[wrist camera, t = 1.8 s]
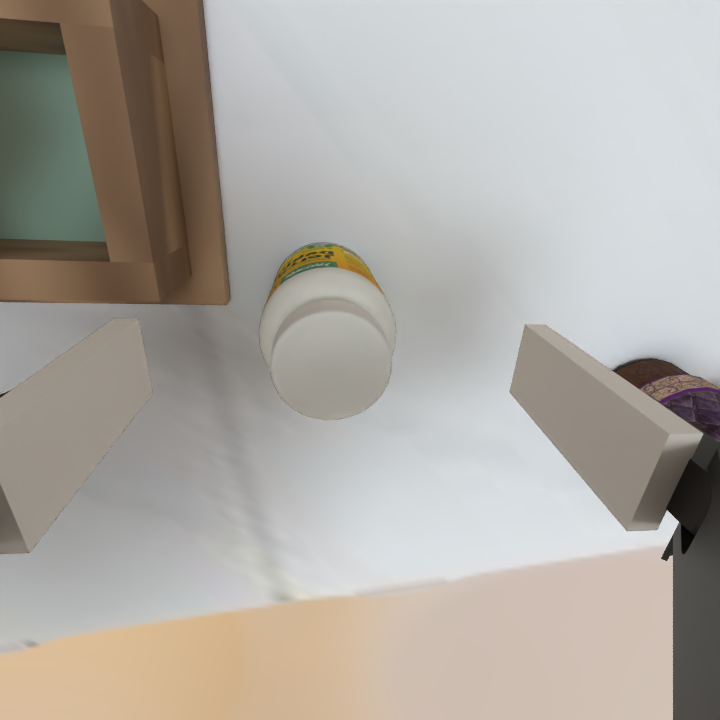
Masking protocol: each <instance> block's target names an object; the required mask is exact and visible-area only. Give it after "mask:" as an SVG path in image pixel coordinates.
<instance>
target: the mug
mask: <svg viewBox="0 0 720 720" xmlns="http://www.w3.org/2000/svg"><path fill="white" fill-rule="evenodd" d="M615 373H616V374H618V375H619V376H621V377H622V378H623V379H625V380H626V381H628V382H629V383H631V384H632V385H634V386H635V387H637V388H638V389H639V390H641V391H642V392H644V393H646V394H648V395H650V396H652V397H654V398H655V399H656V400H658V401H659V402H661V403H662V404H664V405H665V406H666V408H670V409H671V410H673V411H674V412H675V413H677V414H678V416H679V417H683V418H684V419H686V420H687V421H689V422H690V423H692V424H693V425H694V426H696V427H697V428H699V429H700V430H702V431H703V432H705V433H706V434H708V435H709V436H711V437H712V438H713V439H715V440H716V441H718V442H719V443H720V389H719V388H717V387H716V386H714V385H712V384H711V383H709V382H707V381H706V380H704V379H702V378H701V377H696V376H692V375H690V374H688V373H686V372H685V371H683V370H681V369H680V368H678V367H677V366H675V365H673V364H672V363H669V362H665V361H661V360H645V361H639V362H636V363H633V364H630V365H628V366H625V367H623V368H621V369H619V370H618V371H616V372H615Z"/></svg>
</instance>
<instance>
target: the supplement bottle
mask: <svg viewBox="0 0 720 720" xmlns="http://www.w3.org/2000/svg"><path fill="white" fill-rule="evenodd" d="M259 341H260V347H261V351H262V354H263V357H264V360H265V362H266V364H267V365H268V367H269V369H270V373H271V378H272V381H273V384H274V386H275V388H276V390H277V392H278V394H279V395H280V396H281V398H282V399H283V400H284V401H285V402H286V403H287V404H288V405H289V406H290V407H292V408H293V409H294V410H296V411H298V412H299V413H301V414H304V415H306V416H309V417H312V418H316V419H322V420H338V419H343V418H348V417H351V416H353V415H356V414H358V413H360V412H362V411H364V410H366V409H367V408H369V407H370V406H371V405H372V404H373V403H375V402H376V401H377V400H378V398H379V397H380V396H381V395H382V393H383V392H384V390H385V388H386V386H387V384H388V382H389V379H390V375H391V367H392V354H393V351H394V347H395V342H396V325H395V320H394V315H393V312H392V310H391V307H390V305H389V303H388V301H387V299H386V297H385V296H384V294H383V292H382V291H381V289H380V287H379V286H378V284H377V282H376V281H375V279H374V277H373V275H372V274H371V272H370V270H369V268H368V267H367V265H366V264H365V263H364V262H363V260H362V259H361V258H360V257H359V256H358V255H357V254H355V253H354V252H353V251H351V250H349V249H347V248H345V247H343V246H340V245H336V244H331V243H314V244H310V245H306V246H304V247H302V248H300V249H298V250H297V251H295V252H294V253H293V254H291V255H290V256H289V257H288V258H287V259H286V260H285V262H284V263H283V264H282V266H281V267H280V269H279V271H278V273H277V276H276V278H275V280H274V284H273V286H272V289H271V291H270V294H269V297H268V299H267V302H266V304H265V307H264V310H263V313H262V317H261V320H260V327H259Z"/></svg>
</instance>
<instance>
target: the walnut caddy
mask: <svg viewBox="0 0 720 720" xmlns="http://www.w3.org/2000/svg"><path fill="white" fill-rule="evenodd" d="M229 301H230V290H229V279H228V268H227V258H226V247H225V236H224V225H223V215H222V204H221V193H220V182H219V172H218V161H217V150H216V140H215V129H214V118H213V107H212V97H211V86H210V75H209V64H208V54H207V43H206V32H205V21H204V11H203V0H0V302H40V303H114V304H188V305H227V304H228V302H229Z"/></svg>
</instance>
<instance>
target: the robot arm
mask: <svg viewBox="0 0 720 720" xmlns="http://www.w3.org/2000/svg"><path fill="white" fill-rule="evenodd" d="M152 393H153V390H152V385H151V380H150V375H149V370H148V365H147V360H146V355H145V350H144V344H143V339H142V334H141V329H140V324H139V319H112V320H111V321H109V322H108V323H107V324H105V325H104V326H102V327H101V328H99V329H98V330H97V331H95V332H94V333H92V334H91V335H89V336H88V337H87V338H85V339H84V340H82V341H81V342H79V343H78V344H77V345H75V346H74V347H72V348H71V349H69V350H68V351H67V352H65V353H64V354H62V355H61V356H59V357H58V358H57V359H55V360H54V361H52V362H51V363H49V364H48V365H47V366H45V367H44V368H42V369H41V370H39V371H38V372H37V373H35V374H34V375H32V376H31V377H29V378H28V379H27V380H25V381H24V382H22V383H21V384H19V385H18V386H17V387H15V388H14V389H12V390H10V391H8V392H6V393H3V394H1V395H0V554H12V553H30V552H31V550H32V549H33V548H34V547H35V545H36V544H37V543H38V541H39V540H40V539H41V537H42V536H43V535H44V534H45V532H46V531H47V530H48V528H49V527H50V526H51V524H52V523H53V522H54V521H55V519H56V518H57V517H58V515H59V514H60V513H61V512H62V510H63V509H64V508H65V506H66V505H67V504H68V502H69V501H70V500H71V499H72V497H73V496H74V495H75V493H76V492H77V491H78V489H79V488H80V487H81V486H82V484H83V483H84V482H85V480H86V479H87V478H88V476H89V475H90V474H91V473H92V471H93V470H94V469H95V467H96V466H97V465H98V464H99V462H100V461H101V460H102V458H103V457H104V456H105V454H106V453H107V452H108V451H109V449H110V448H111V447H112V445H113V444H114V443H115V441H116V440H117V439H118V438H119V436H120V435H121V434H122V432H123V431H124V430H125V428H126V427H127V426H128V425H129V423H130V422H131V421H132V419H133V418H134V417H135V416H136V414H137V413H138V412H139V410H140V409H141V408H142V406H143V405H144V404H145V403H146V401H147V400H148V399H149V397H150V396H151V395H152ZM510 393H511V395H512V396H513V397H514V398H515V399H516V401H517V402H518V403H519V404H520V405H521V406H522V408H523V409H524V410H525V411H526V412H527V414H528V415H529V416H530V417H531V418H532V419H533V421H534V422H535V423H536V424H537V425H538V427H539V428H540V429H541V430H542V431H543V433H544V434H545V435H546V436H547V437H548V438H549V440H550V441H551V442H552V443H553V444H554V446H555V447H556V448H557V449H558V450H559V451H560V453H561V454H562V455H563V456H564V457H565V459H566V460H567V461H568V462H569V463H570V465H571V466H572V467H573V468H574V469H575V470H576V472H577V473H578V474H579V475H580V476H581V478H582V479H583V480H584V481H585V482H586V483H587V485H588V486H589V487H590V488H591V489H592V491H593V492H594V493H595V494H596V495H597V496H598V498H599V499H600V500H601V501H602V502H603V504H604V505H605V506H606V507H607V508H608V510H609V511H610V512H611V513H612V514H613V515H614V517H615V518H616V519H617V520H618V521H619V523H620V524H621V525H622V526H623V527H624V528H625V530H626V531H649V530H657V529H658V527H659V525H660V523H661V521H662V519H663V517H664V515H665V513H666V511H667V510H668V511H669V512H670V513H671V514H672V515H673V516H674V517H675V518H676V519H677V520H678V521H679V524H678V526H677V528H676V530H675V532H674V534H673V536H672V538H671V540H670V542H669V544H668V545H667V547H666V549H665V551H664V554H663V556H662V558H661V559H663V560H665V561H667V560H668V558H669V556H671V555H673V720H720V443H719V442H718V441H716V440H715V439H713V438H712V437H711V436H709V435H708V434H706V433H705V432H703V431H702V430H700V429H699V428H697V427H696V426H694V425H693V424H692V423H690V422H689V421H687V420H686V419H684V418H683V417H679V416H678V414H677V413H675V412H674V411H673V410H671V409H670V408H666V406H665V405H664V404H662V403H661V402H659V401H658V400H656V399H655V398H654V397H652V396H650V395H648V394H646V393H644V392H642V391H641V390H639V389H638V388H637V387H635V386H634V385H632V384H631V383H629V382H628V381H626V380H625V379H623V378H622V377H621V376H619V375H618V374H616V373H615V372H613V371H612V370H610V369H609V368H608V367H606V366H605V365H603V364H602V363H600V362H599V361H597V360H596V359H594V358H593V357H592V356H590V355H589V354H587V353H586V352H584V351H583V350H581V349H580V348H578V347H577V346H576V345H574V344H573V343H571V342H570V341H568V340H567V339H565V338H564V337H563V336H561V335H560V334H558V333H557V332H555V331H554V330H552V329H551V328H549V327H548V326H547V325H526V324H525V327H524V331H523V335H522V340H521V344H520V348H519V353H518V357H517V362H516V366H515V370H514V375H513V379H512V383H511V388H510Z"/></svg>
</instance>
